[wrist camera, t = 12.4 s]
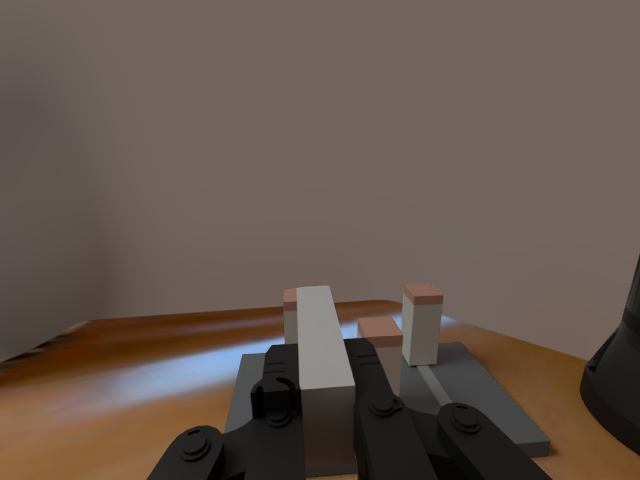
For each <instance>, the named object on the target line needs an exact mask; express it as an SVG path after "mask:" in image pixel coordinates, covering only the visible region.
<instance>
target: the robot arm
mask: <svg viewBox="0 0 640 480" xmlns="http://www.w3.org/2000/svg"><path fill="white" fill-rule="evenodd" d="M297 318H298V343H295V344H281V345H272V346H271V347H270V348H269V350H268V351H267V352H266V354H265V360H264V367H263V375H262V379H261V380H259V381H258V382H257V383H256V384H255V385H254V386H253V388H252V390H251V393H250V396H251V406H252V416H253V418H252V419H251V420H250V421H249V422H247V423H246V424H245V425H243V426H242V427H240V428H237V429H235V430H233V431H230V432H227V433H224V434H221V433H220V431H219V430H218V429H217V428H214V427H211V426H208V425H207V426H197V427H194V428H191V429H188V430H186V431H185V432H183V433H182V434H180V435H179V436H177V438H176V439H175V440H174V441H173V442H172V443H171V444H170V446H169V447H168V448H167V450H166V451H165V453H164V454H163V456H162V457H161V459H160V460H159V462H158V463H157V465H156V466H155V468H154V469H153V471H152V472H151V474H150V475H149V477H148V478H147V480H306V478H305V468H310V467H320V466H330V465H340V464H351V463H355V455H356V460H357V465H358V480H552V479H551V478H550V477H549V476H548V475H547V474H546V473H545V472H544V471H543V470H542V469H541V468H540V467H539V466H538V465H537V464H536V463H535V462H534V461H533V460H532V459H531V458H530V457H529V456H527V455H526V454H525V453H524V452H523V451H522V450H521V449H520V448H519V447H518V446H517V445H516V444H515V443H514V442H513V441H512V440H511V439H510V438H509V437H508V436H507V435H506V434H505V433H504V432H502V431H501V430H500V429H499V428H498V427H497V426H496V425H495V424H494V423H493V422H492V421H491V420H490V419H489V418H488V417H487V416H486V415H485V414H483V413H482V412H481V411H479V410H478V409H477V408H474V407H472V406H470V405H467V404H463V403H457V402H455V403H447V404H446V405H444V406H442V407H441V408H440V410H439V412H438V415H435V414H429V413H423V412H419V411H415V410H413V409H410V408H408V407H406V405H405V404H404V402H403V401H402V399H401V398H399V397H398V396H396V395H395V394H394V393H393V391H392V388H391V386H390V384H389V381H388V379H387V376H386V374H385V371H384V369H383V367H382V364H381V362H380V359H379V357H378V354H377V352H376V349H375V347H374V345H373V344H372V343H371V342H370V341H368V340H367V339H366V338H353V339H343V337H342V333H341V330H340V326H339V322H338V318H337V314H336V311H335V307H334V303H333V299H332V296H331V292H330V288H329V286H314V287H297ZM580 394H581V397H582V400H583V402H584V404H585V405H586V407H587V408H588V410H589V411H590V413H591V414H592V415H593V416H594V417H595V418H596V420H597V421H598V422H599V423H600V424H601V425H602V426H603V427H604V428H606V429H607V430H608V431H609V432H610V433H611V434H612V435H614V436H615V437H616V438H617V439H619V440H620V441H621V442H622V443H624V444H625V445H626V446H628V447H629V448H631V449H632V450H634V451H635V452H636V453H638V454H639V455H640V255H639V259H638V262H637V266H636V269H635V273H634V276H633V280H632V284H631V287H630V291H629V294H628V298H627V302H626V306H625V310H624V313H623V317H622V320H621V323H620V325H619V326H618V328H617V329H616V330H615V331H614V332H613V333H612V335H611V336H610V337H609V338H608V339H607V340H606V342H605V343H604V344H603V346H601V348H600V349H599V350H598V351H597V352H596V354H595V355H594V356H593V358H592V359H590V361H589V362H588V363H587V365H586V367H585V369H584V372H583V376H582V381H581V385H580Z"/></svg>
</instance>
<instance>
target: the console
mask: <svg viewBox="0 0 640 480" xmlns="http://www.w3.org/2000/svg"><path fill="white" fill-rule="evenodd" d="M265 354H266V353H257V354H242V359H241V363H240V367H239V371H238V376H237V380H236V384H235V388H234V393H233V397H232V401H231V406H230V410H229V414H228V418H227V423H226V427H225V431H224V433H227V432H230V431H233V430H235V429H237V428H240V427H242V426H243V425H245V424H246V423H247V422H249V421H250V420H251V419H252V418H253V416H252V406H251V396H250V393H251V390H252V388H253V386H254V385H255V384H256V383H257V382H258V381H259V380H261V379H262V375H263V367H264V360H265ZM399 398H401V399H402V401H403V402H404V404H405V405H406V407H408V408H410V409H413V410H415V411H419V412H423V413H429V414H435V415H438V412H439V410H440V408H441V407H442V406H444V405H446V404H447V403H455V402H457V403H463V404H467V405H470V406H472V407H474V408H477V409H478V410H479V411H481V412H482V413H483V414H485V415H486V416H487V417H488V418H489V419H490V420H491V421H492V422H493V423H494V424H495V425H496V426H497V427H498V428H499V429H500V430H501V431H502V432H504V433H505V434H506V435H507V436H508V437H509V438H510V439H511V440H512V441H513V442H514V443H515V444H516V445H517V446H518V447H519V448H520V449H521V450H522V451H523V452H524V453H525V454H526V455H527V456H529V457H540V456H547V454H548V449H549V445H550V440H549V439H548V438H547V437H546V436H545V434H544V433H543V432H542V431H541V430H540V429H539V428H538V427H537V426H536V425H535V423H534V422H533V421H532V420H531V419H530V418H529V417H528V416H527V415H526V413H525V412H524V411H523V410H522V409H521V408H520V407H519V406H518V405H517V403H516V402H515V401H514V400H513V399H512V398H511V397H510V396H509V395H508V394H507V392H506V391H505V390H504V389H503V388H502V387H501V386H500V385H499V384H498V382H497V381H496V380H495V379H494V378H493V377H492V376H491V375H490V374H489V373H488V371H487V370H486V369H485V368H484V367H483V366H482V365H481V364H480V363H479V361H478V360H477V359H476V358H475V357H474V356H473V355H472V354H471V353H470V352H469V350H468V349H467V348H466V347H465V346H464V345H463V344H462V343H461V342H454V343H438V352H437V362H436V364H428V365H412V366H409V365H408V363H407V361H406V359H405V358H404V356H403V354H402V360H401V374H400V388H399ZM349 473H358V465H357V460H356V455H355V463H351V464H340V465H330V466H320V467H310V468H305V477H316V476H327V475H338V474H349Z"/></svg>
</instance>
